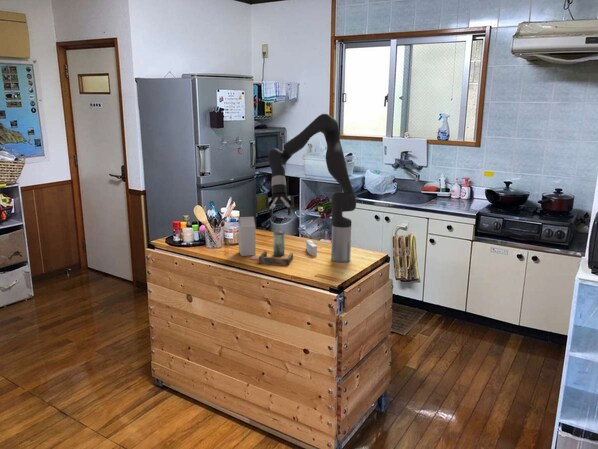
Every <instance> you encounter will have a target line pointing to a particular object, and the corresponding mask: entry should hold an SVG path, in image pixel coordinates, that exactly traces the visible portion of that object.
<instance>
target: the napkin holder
mask: <svg viewBox="0 0 598 449" xmlns="http://www.w3.org/2000/svg"><path fill="white" fill-rule="evenodd" d="M305 243H306V246H305V250H306V251H307V253H308V254H309V255H311V256H312V257H315V256H318V246H317V245H316V244H315V242H314V241H312V240H311V239H308V240H307V239H306V242H305Z"/></svg>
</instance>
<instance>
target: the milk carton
mask: <svg viewBox="0 0 598 449" xmlns="http://www.w3.org/2000/svg"><path fill="white" fill-rule="evenodd" d="M256 246H257V245H256V221H255V216H242V217H241V216H240V217H239V221H238V252H239V254H240V255H241V257H244V256H245V257H247V256H253V255H254V256H257V255H256V249H257V248H256Z"/></svg>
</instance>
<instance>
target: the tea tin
mask: <svg viewBox="0 0 598 449" xmlns="http://www.w3.org/2000/svg"><path fill="white" fill-rule="evenodd" d="M285 232H286V231H285V230H283V229H282V230H281V229H279V230H278V229H277V230H273V254H272V255H273V256H274V257H276V258H282V257H284V256H285V247H286V246H285V238H286V237H285V236H286V235H285V234H286V233H285Z"/></svg>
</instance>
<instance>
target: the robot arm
mask: <svg viewBox="0 0 598 449" xmlns="http://www.w3.org/2000/svg"><path fill="white" fill-rule="evenodd" d="M318 133H321V134H323V136H324V139H325V141H326V142H325V143H326V152H325V163H326V167H327V170H328V173H329V174H330V175H331V177H332V178H333V179H334V180H335V181H336V182H337V183H338V184H339V186H340V188H341V190H342V192H334V193H333V194H332V197H331V222H332V223H331V224H332V225H331V250H330V251H331V252H330V257H331V258H330V259H331V260H332V261H333V262H338V263H347V262H350V261H351V255H352V254H351V251H352V219H350V218H349V217H345V216H343V212H344V213H346V212H353V211H355V210H356V208H357V200H356V195H355V192H354V190H353V189H354V188H353V187H352V184H351V180H350V177H349V176H350V175H349V172H348V168H347V163H346V159H345V156H344V151H343V146H342V143H341V139H340V131H339V124H338V121H337V120H336V119H335V118H334V117H333V116H331V115H330V114H328V113H321V114H320V115H318V116H316V118H315V119H313V120H312V121H311V122H310V123H309V124H308V125H307V126H306V127H305V128H304V129H303V130H302V131H301V132H299V133H298V134H297V135H296V136H294V137H292V138H291V139H290V140H288V141H286V142H285V143H284V144H283V150H280V149H278V148H276V147H273V148H271V149H270V150H269V152H268V155H267V158H268V163H269V167H270V170H271V197H269V196H266V197H265V208H266V210H269V216H270V217H271V218H273V217H274V208H275V207H276V206H283V205H285V206H286V207H287V216H291V214H292V212H291V211H292V208H294V207H295V203H294V196H293V194H289V195H287V181H286V179H287V178H286V170H285V167H284V166H283V165H284V164H286V163H287V162H288V161H289V159H291V157H292V156H293V155H294V154H296V153H298V152H299V151H301V150H302V149H303V148H305V147H306V145H307V143H308V142H309V140H310V139H311V138H313V136H315V135H316V134H318ZM288 200H289V201H290V203H288ZM271 201H272V203H271V204H270V202H271Z"/></svg>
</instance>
